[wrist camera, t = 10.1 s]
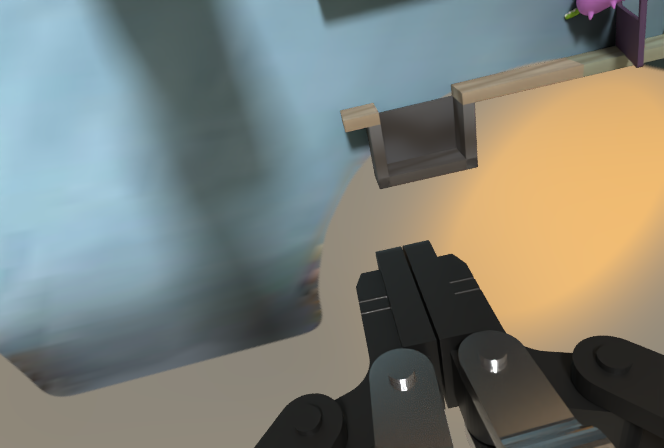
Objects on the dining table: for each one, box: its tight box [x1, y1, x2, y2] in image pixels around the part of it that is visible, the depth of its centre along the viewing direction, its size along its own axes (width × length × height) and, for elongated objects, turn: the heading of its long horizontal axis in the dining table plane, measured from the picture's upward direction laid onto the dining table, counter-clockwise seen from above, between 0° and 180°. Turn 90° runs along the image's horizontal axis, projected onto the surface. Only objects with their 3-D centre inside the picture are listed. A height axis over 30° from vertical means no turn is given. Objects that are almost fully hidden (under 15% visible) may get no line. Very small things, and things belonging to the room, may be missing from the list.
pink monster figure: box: [565, 0, 648, 68], centre depth 34 cm, size 7×5×9 cm
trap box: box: [340, 33, 664, 189], centre depth 35 cm, size 24×30×3 cm
